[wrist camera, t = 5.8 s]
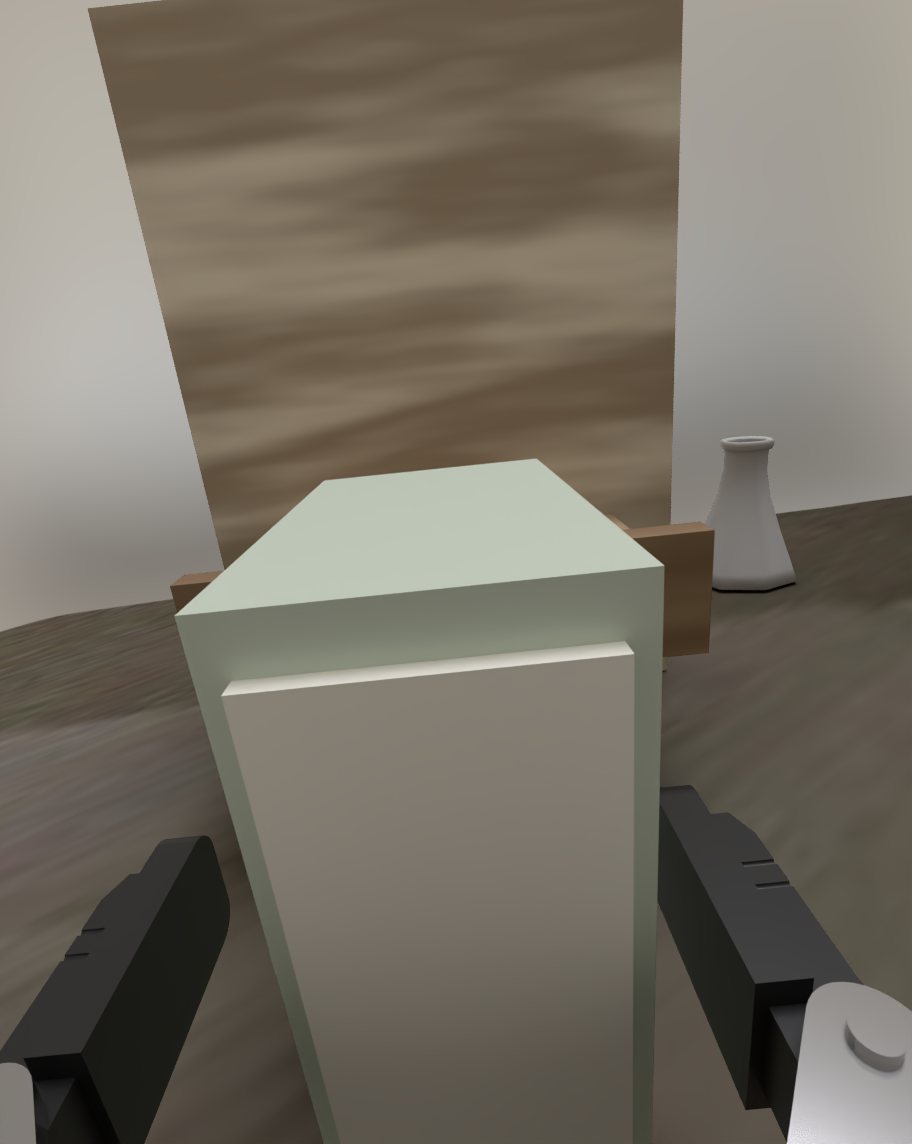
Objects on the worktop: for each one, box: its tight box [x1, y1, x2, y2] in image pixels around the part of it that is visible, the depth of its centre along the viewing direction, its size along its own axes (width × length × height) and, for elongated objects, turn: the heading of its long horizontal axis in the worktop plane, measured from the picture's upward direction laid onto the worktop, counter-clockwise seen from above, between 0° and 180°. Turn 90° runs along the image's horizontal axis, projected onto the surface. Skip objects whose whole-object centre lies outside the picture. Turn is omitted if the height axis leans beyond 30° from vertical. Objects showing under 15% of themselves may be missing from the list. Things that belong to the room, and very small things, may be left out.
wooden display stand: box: [88, 0, 715, 671], centre depth 24 cm, size 18×22×30 cm
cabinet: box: [175, 459, 664, 1144], centre depth 12 cm, size 8×5×14 cm, turn 2°
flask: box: [705, 436, 797, 590], centre depth 41 cm, size 7×7×10 cm
